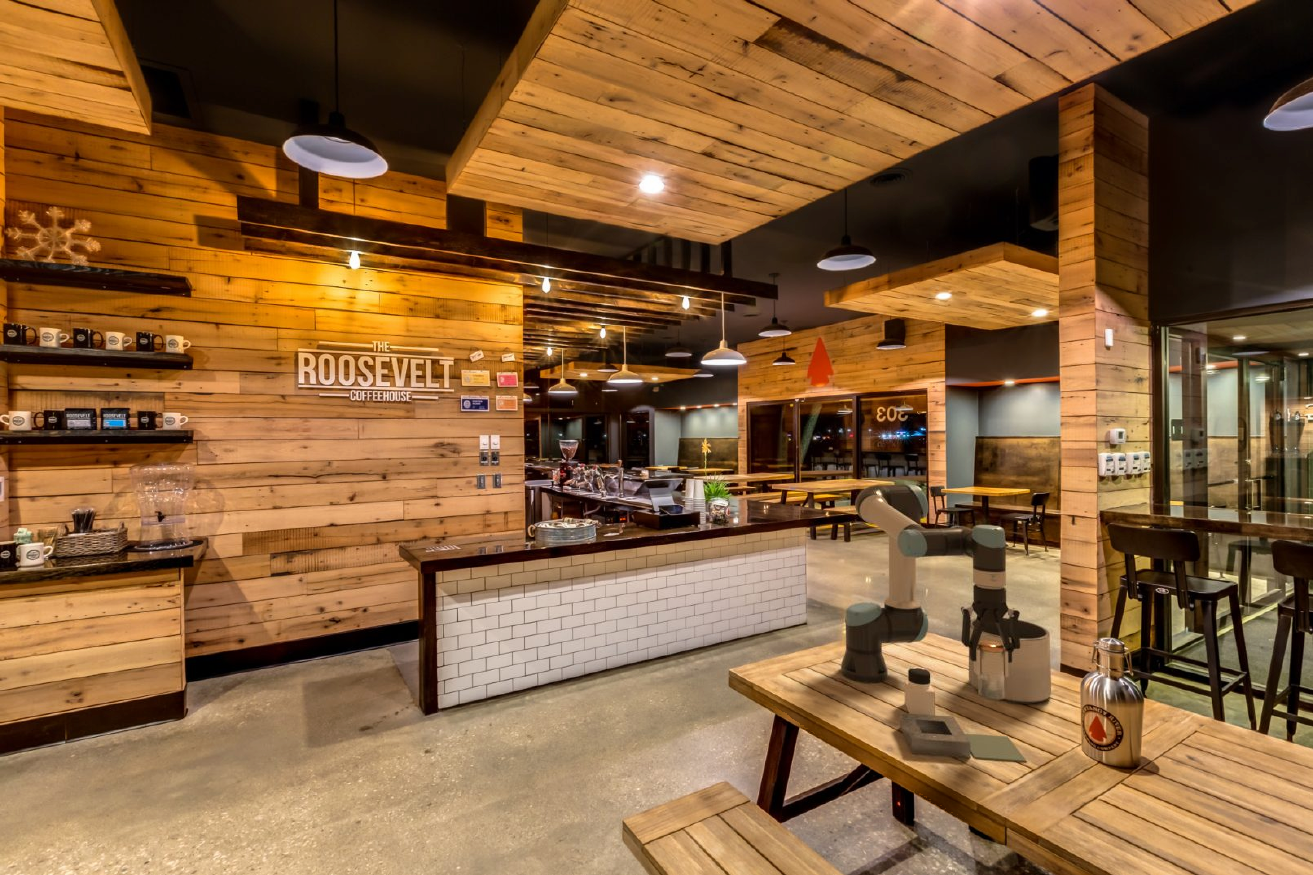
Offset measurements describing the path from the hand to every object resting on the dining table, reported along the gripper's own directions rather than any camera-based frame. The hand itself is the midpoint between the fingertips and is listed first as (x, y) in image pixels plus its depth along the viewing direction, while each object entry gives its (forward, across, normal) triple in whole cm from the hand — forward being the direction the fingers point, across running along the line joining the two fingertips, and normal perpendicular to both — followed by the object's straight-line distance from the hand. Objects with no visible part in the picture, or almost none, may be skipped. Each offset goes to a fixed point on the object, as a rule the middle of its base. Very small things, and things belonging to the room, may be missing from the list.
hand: (990, 673), depth 156 cm
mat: (+19, 0, 0) cm, 19 cm away
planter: (+20, +18, +38) cm, 47 cm away
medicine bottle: (+20, -13, +20) cm, 31 cm away
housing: (+19, -14, +1) cm, 24 cm away
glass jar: (+5, 0, 0) cm, 5 cm away
